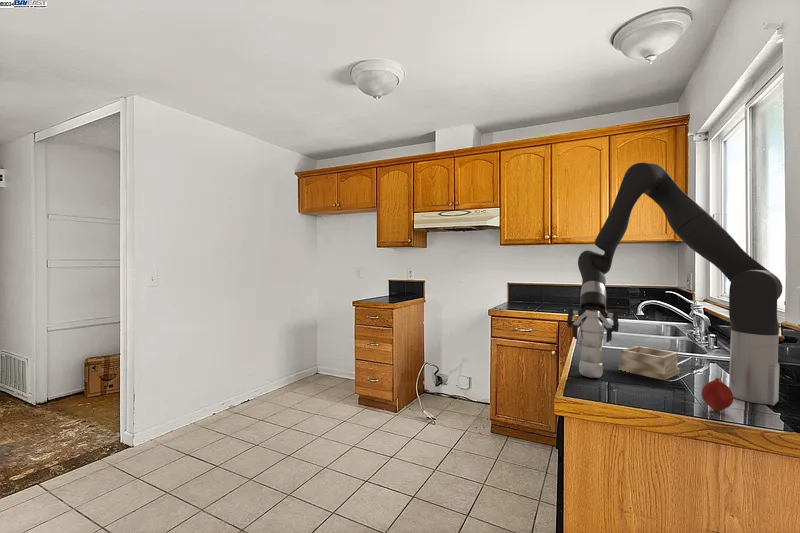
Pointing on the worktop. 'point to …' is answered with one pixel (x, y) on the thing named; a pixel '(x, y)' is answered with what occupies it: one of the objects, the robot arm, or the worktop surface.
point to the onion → (717, 395)
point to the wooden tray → (649, 362)
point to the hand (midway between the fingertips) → (591, 339)
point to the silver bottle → (591, 345)
